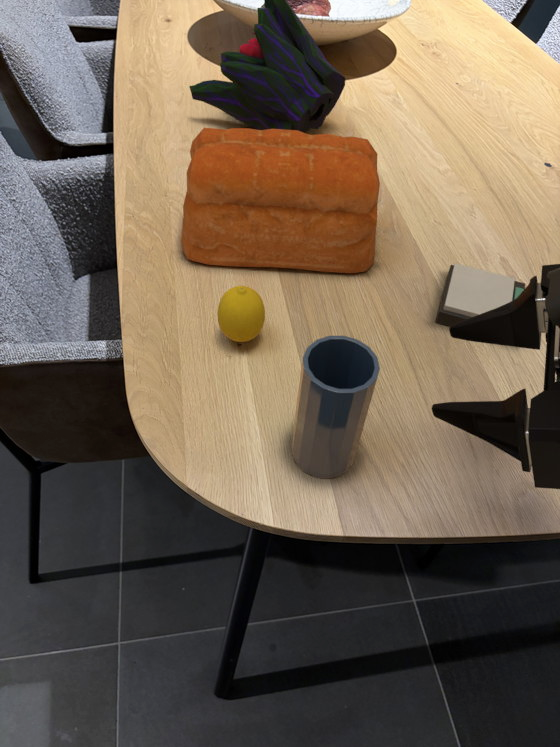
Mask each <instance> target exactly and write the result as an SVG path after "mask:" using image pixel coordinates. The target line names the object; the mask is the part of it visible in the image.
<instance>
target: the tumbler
mask: <svg viewBox="0 0 560 747" xmlns="http://www.w3.org/2000/svg"><path fill="white" fill-rule="evenodd" d="M300 367H301V368H300V375H299V384H298V391H297V398H296V407H295V413H294V414H295V415H294V421H293V430H292V438H291V456H292V458H293V461H294V463H295V464H296V466H297V467H298V468H299V469H300V470H301V471H302V472H304V473H305V474H307V475H309V476H312V477H314V478H317V479H333V478H338V477H339V476H342V475H344V474H345V473H347V472H348V471H349V470H350V469H351V467H352V466H353V464H354V462H355V458H356V455H357V451H358V448H359V445H360V442H361V438H362V434H363V430H364V428H365V424H366V420H367V416H368V413H369V409H370V405H371V403H372V398H373V395H374V391H375V389H376V384H377V382H378V377H379V373H380V370H381V367H380V363H379V358H378V356H377V354H376V353H375V352H374V351H373V350H372V348H371V347H370V346H369V345H367V344H366V343H364V342H362V340H359V339H357V338H354V337H350V336H346V335H327V336H324V337H321V338H318V339H316V340H314V342H312V343H310V345H307V347H306V349H305V351H304V354H303V356H302V360H301V366H300Z"/></svg>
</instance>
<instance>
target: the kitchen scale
mask: <svg viewBox="0 0 560 747" xmlns="http://www.w3.org/2000/svg"><path fill="white" fill-rule="evenodd" d="M525 288H526V283H524V282H521V281H517V280H516V278H515V277H512V276H508V275H505V274H501V273H496V272H493V271H488V270H485V269H480V268H478V267H477V268H476V267H473V266H469V265H465V264H461V263H457V262H454V264H450V267H449V268H448V272H447V275H446V279H445V283H444V286H443V290H442V295H441V299H440V302H439V306H438V310H437V314H436V319H435V323H436V324H439V325H443V326H446V327H449V328H450V326H451V325H453V324H456V323H458V322H461V321H464V320H466V319H469V318H472V317H474V316H477V315H480V314H482V313H485V312H488V311H490V310H493V309H495V308H498V307H500V306H502V305H505V304H507V303H509V302H511V301H513V300H515V299H516V298H517V297H518V296H519V295H520V294H521V293H522V292H523V290H524V289H525Z"/></svg>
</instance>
